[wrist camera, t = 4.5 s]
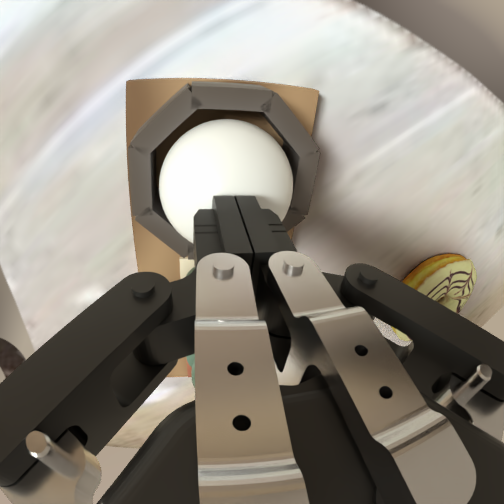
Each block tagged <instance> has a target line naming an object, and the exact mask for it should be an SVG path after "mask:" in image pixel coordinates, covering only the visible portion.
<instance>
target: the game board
mask: <svg viewBox="0 0 504 504" xmlns="http://www.w3.org/2000/svg"><path fill="white" fill-rule="evenodd" d="M318 95H319V91H318V90H315V89H311V88H304V87H298V86H291V85H283V84H275V83H266V82H256V81H244V80H229V79H207V78H159V79H137V80H128V81H126V142H127V165H128V181H129V195H130V206H131V217H132V226H133V235H134V243H135V251H136V259H137V266H138V272H155V273H158V274H161V275H162V276H164V277H165V278H167V279H168V281H169V282H173V281H176V280H179V279H182V278H184V277H186V275H187V273H188V272H189V271H190V270H191V269H192V268H193V267H195V266H194V253H193V243H191V242H190V241H188V240H187V239H186V238H184V237H183V236H182V235H181V234H179V233H178V232H177V231H176V229H175V228H174V227H173V226H172V224H171V223H170V221H169V220H168V218H167V216H166V214H165V212H164V210H163V207H162V204H161V200H160V194H159V177H160V172H161V168H162V165H163V162H164V160H165V158H166V156H167V154H168V152H169V150H170V149H171V147H172V146H173V145H174V143H175V142H176V141H177V140H178V139H179V138H180V137H181V136H182V135H184V134H185V133H186V132H187V131H189V130H191V129H192V128H194V127H196V126H198V125H200V124H202V123H205V122H209V121H212V120H219V119H234V120H241V121H245V122H248V123H251V124H253V125H256V126H258V127H259V128H261V129H263V130H264V131H266V132H267V133H268V134H269V135H271V136H272V137H273V138H274V139H275V140H276V141H277V142H278V144H279V145H280V146H281V148H282V149H283V151H284V152H285V154H286V156H287V158H288V161H289V164H290V167H291V170H292V176H293V193H292V199H291V203H290V206H289V209H288V211H287V214H286V216H285V217H284V219H283V221H282V224H283V226H284V227H285V229H286V232H287V233H288V235H289V237H290V239H291V240H292V235H293V230H294V226H296V225H297V224H298V223H300V222H301V221H302V220H304V219H305V217H304V216H303V215H308V210H309V206H310V201H311V196H312V192H313V187H314V182H315V177H316V172H317V167H318V162H319V157H320V152H319V151H317V150H319V147H318V146H317V144H316V143H315V142H314V140H313V139H312V138H311V136H312V131H313V125H314V119H315V113H316V107H317V101H318ZM191 371H192V367H191V366H190V365H189V364H188V362H187V358H186V357H183V358H180V359H178V362H177V364H176V366H175V367H174V368H173V369H172V371H171V372H170V373H169V374H168V375H167V376H166V377H185V376H188V377H192V376H191Z"/></svg>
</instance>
